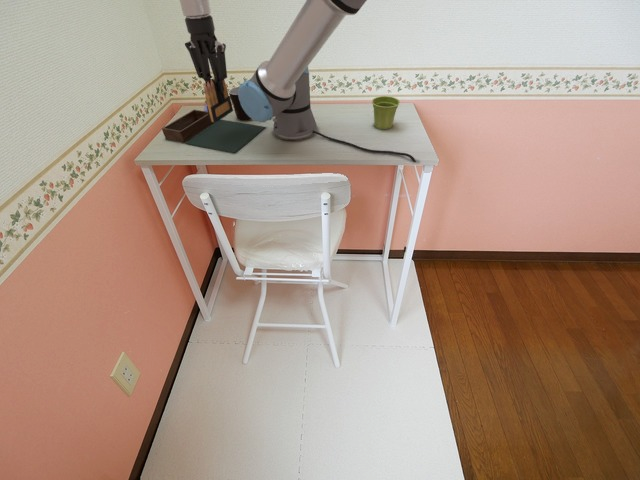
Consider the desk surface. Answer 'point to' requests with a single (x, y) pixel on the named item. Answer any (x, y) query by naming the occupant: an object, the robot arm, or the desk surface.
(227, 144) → the desk mat
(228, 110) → the ammunition clip
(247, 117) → the coffee mug
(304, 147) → the desk surface
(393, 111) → the plant pot
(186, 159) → the desk surface
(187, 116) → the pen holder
